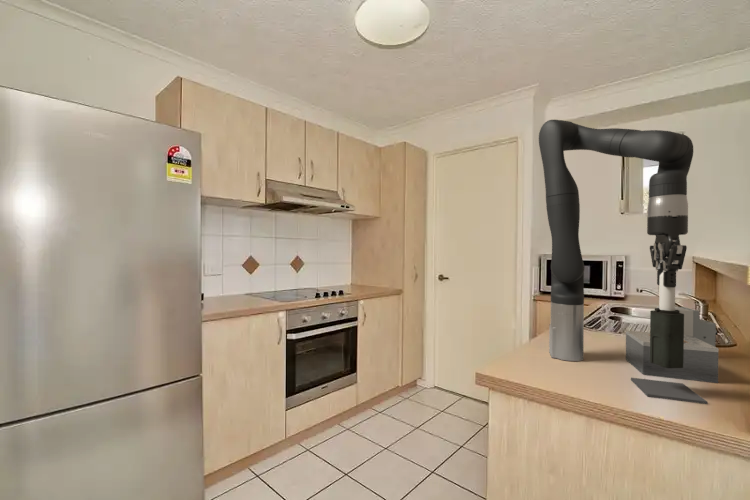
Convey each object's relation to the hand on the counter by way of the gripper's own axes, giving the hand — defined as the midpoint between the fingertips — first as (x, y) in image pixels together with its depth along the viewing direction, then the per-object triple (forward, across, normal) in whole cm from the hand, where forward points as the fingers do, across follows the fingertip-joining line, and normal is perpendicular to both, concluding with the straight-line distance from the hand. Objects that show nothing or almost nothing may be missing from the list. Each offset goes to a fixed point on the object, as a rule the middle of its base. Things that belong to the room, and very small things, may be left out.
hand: (666, 286), depth 83 cm
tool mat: (+26, 0, 0) cm, 26 cm away
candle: (+19, 0, 0) cm, 19 cm away
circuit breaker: (+26, -39, +20) cm, 51 cm away
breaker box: (+26, -18, +7) cm, 32 cm away
